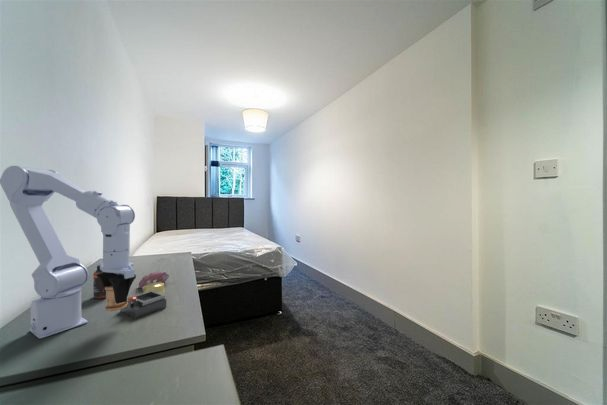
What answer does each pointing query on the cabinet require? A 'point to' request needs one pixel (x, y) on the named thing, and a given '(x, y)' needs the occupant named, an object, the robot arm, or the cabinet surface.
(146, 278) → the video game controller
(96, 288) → the supplement bottle
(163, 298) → the gray square open box
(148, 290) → the gold short rounded piece
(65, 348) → the cabinet surface
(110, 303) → the copper flared cylinder
